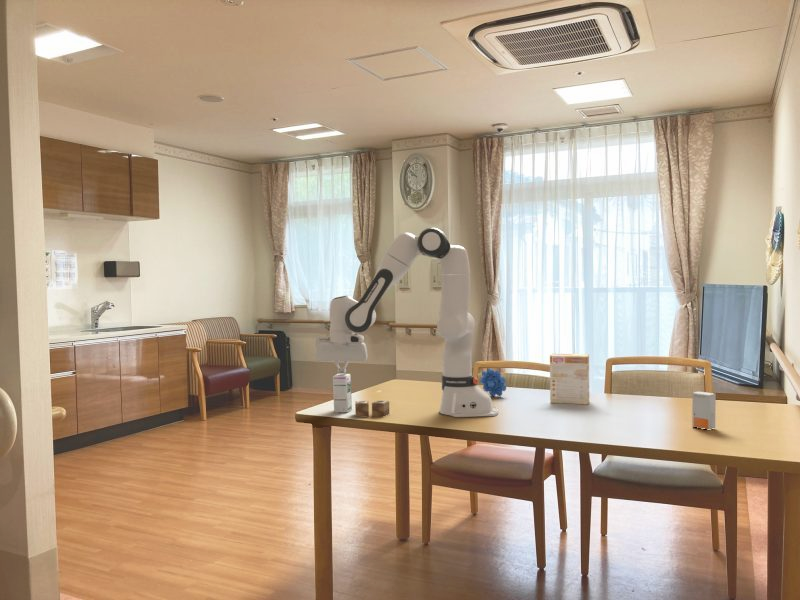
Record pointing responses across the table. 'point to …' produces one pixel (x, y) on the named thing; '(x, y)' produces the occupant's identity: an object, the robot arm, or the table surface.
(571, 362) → the coffeecake box
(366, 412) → the walnut block one
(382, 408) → the walnut block two
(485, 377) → the blue gear wheel
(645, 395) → the table surface
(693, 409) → the skincare box
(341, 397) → the syrup box
